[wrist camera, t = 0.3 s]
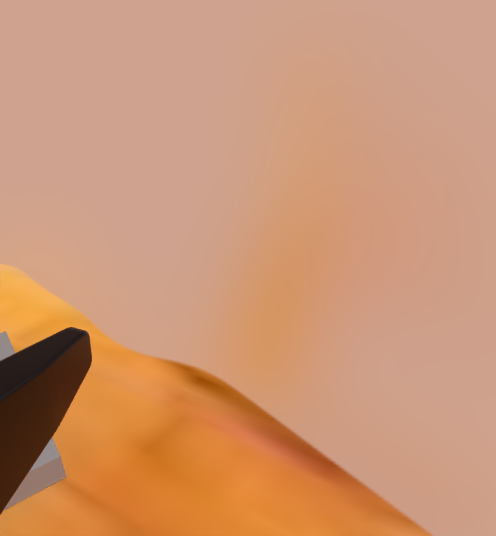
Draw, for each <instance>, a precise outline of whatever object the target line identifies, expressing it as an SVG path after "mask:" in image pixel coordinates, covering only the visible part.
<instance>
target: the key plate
mask: <svg viewBox="0 0 496 536" xmlns="http://www.w3.org/2000/svg"><path fill="white" fill-rule="evenodd" d="M13 354H15V351H14V349H13V347H12V345H11V342H10V340H9V338H8V335H7V333H6V331H5V332H2V333H0V361H1V360H3V359H5V358H7V357H9V356H11V355H13ZM64 478H66V475H65V471H64V467H63V464H62V460H61V457H60V454H59V452H58V450H57V447H56V445H55V443H54V441H53V438H51V440H50V441H49V443H48V444H47V446H46V447H45V449H44V450H43V452H42V453H41V455H40V456H39V458H38V459H37V461H36V462H35V464H34V465H33V467H32V468H31V470H30V471H29V473H28V474H27V476H26V477H25V479H24V480H23V482H22V483H21V484H20V486H19V487H18V489H17V490H16V492H15V493H14V495H13V496H12V498H11V499H10V501H9V502H8V504H7V505H6V507H5V508H4V510H5V509H7V508H9V507H11V506H13V505H14V504H16V503H18V502H20V501H22V500H24V499H26V498H28V497H30V496H31V495H33V494H35V493H37V492H39V491H41V490H43V489H45V488H47V487H48V486H50V485H52V484H54V483H56V482H58V481H60V480H62V479H64Z"/></svg>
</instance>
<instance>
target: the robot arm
mask: <svg viewBox="0 0 496 536" xmlns="http://www.w3.org/2000/svg"><path fill="white" fill-rule="evenodd" d="M91 362H92V353H91V345H90V337H89V334H88V332H87V331H84V330H81V329H77V328H73V327H69V328H66V329H64V330H62V331H60V332H58V333H56V334H54V335H52V336H50V337H48V338H46V339H44V340H42V341H39V342H37V343H35V344H33V345H31V346H29V347H27V348H25V349H23V350H21V351H19V352H17V353H15V354H13V355H11V356H9V357H7V358H5V359H3V360H1V361H0V514H1V513H2V511H3V510H4V508H5V507H6V505H7V504H8V502H9V501H10V499H11V498H12V496H13V495H14V493H15V492H16V490H17V489H18V487H19V486H20V484H21V483H22V482H23V480H24V479H25V477H26V476H27V474H28V473H29V471H30V470H31V468H32V467H33V465H34V464H35V462H36V461H37V459H38V458H39V456H40V455H41V453H42V452H43V450H44V449H45V447H46V446H47V444H48V443H49V441H50V440H51V438H52V436H53V435H54V433H55V432H56V430H57V429H58V427H59V425H60V423H61V421H62V420H63V418H64V416H65V414H66V412H67V410H68V408H69V406H70V404H71V403H72V401H73V399H74V397H75V395H76V393H77V391H78V389H79V387H80V385H81V383H82V382H83V380H84V378H85V376H86V374H87V372H88V370H89V368H90V366H91Z"/></svg>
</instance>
